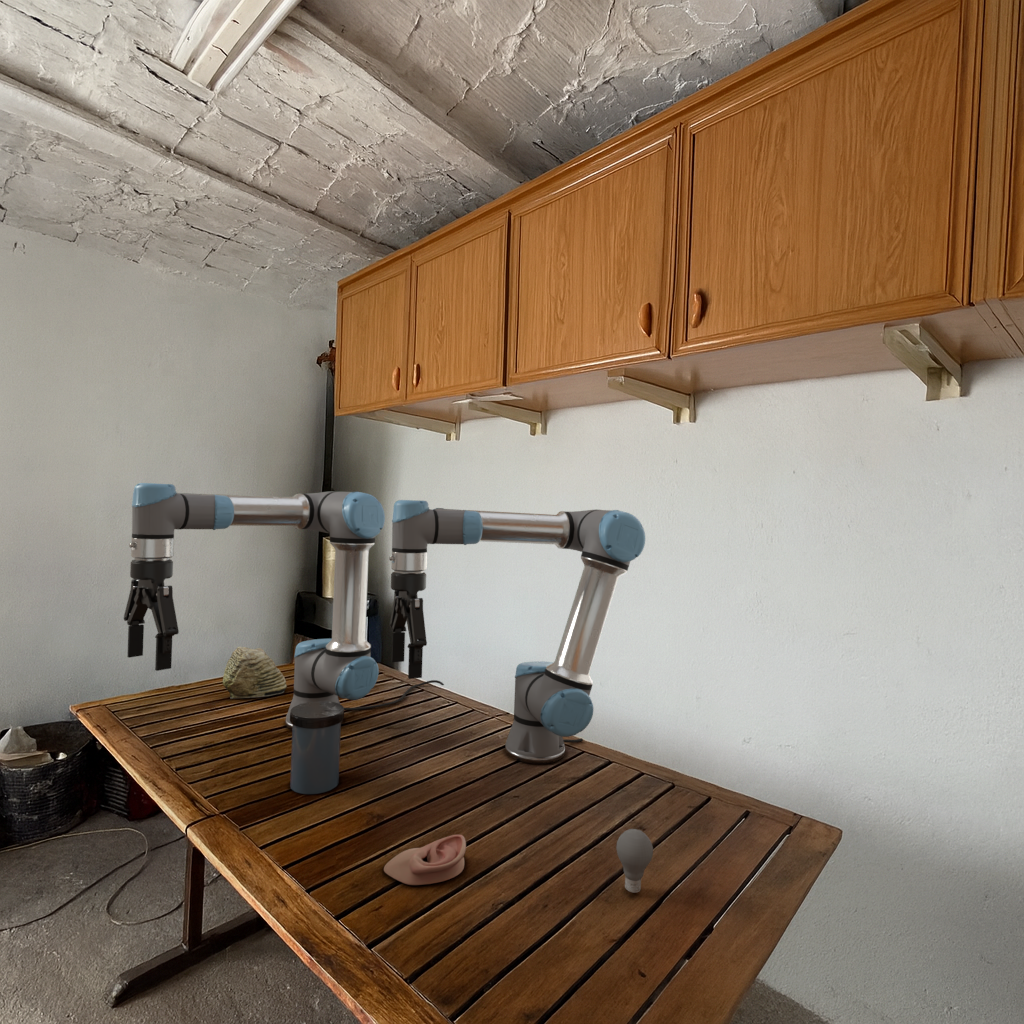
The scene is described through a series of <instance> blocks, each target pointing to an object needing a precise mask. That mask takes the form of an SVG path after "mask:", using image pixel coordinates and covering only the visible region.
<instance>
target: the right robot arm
mask: <svg viewBox="0 0 1024 1024" xmlns="http://www.w3.org/2000/svg"><path fill="white" fill-rule="evenodd" d="M392 511H393V512H392V519H391V522H392V524H391V525H392V527H391V530H392V531H391V556H389V557H388V559H389V561H391V570H392V572H391V573H390V589H391V590H393V593H394V594H393V602H392V607H391V608H392V609H391V616H390V620H389V628H390V629H391V632H392V633H391V637H392V638H391V663H402V662H405V649H406V648H405V647H407V649H408V666H407V667H408V670H407V679H408V680H414V679H422V678H423V656H424V655H423V653H424V651H423V650H424V647H427V644H428V642H427V641H428V640H427V634H426V632H427V631H426V624H425V615H424V598H423V597H419V595H418V592H423V591H425V590H426V588H427V573H426V572H425V571H426V570H428V545H463V546H467V545H477V544H478V543H479V542H483V543H485V542H487V543H508V544H509V543H510V544H511V543H512V544H533V545H534V544H535V545H555V546H556V548H557V549H561V550H572V551H577V552H581V554H580V560H581V562H582V564H583V570H582V572H581V576H580V579H579V582H578V586H577V588H576V591H575V595H574V598H573V601H572V605H571V608H570V610H569V614H568V617H567V621H566V624H565V628H564V631H563V634H562V636H561V640H560V643H559V646H558V649H557V653H556V656H555V659H554V661H538V660H537V661H526V662H525V661H524V662H521V663H519V664H518V665H517V666H516V668H515V675H514V700H513V701H514V704H513V706H514V707H513V722H512V724H511V727H510V730H509V732H508V735H507V738H506V741H505V749H504V751H505V754H506V755H507V756H508V757H510V758H511V759H513V760H516V761H518V762H521V763H527V764H533V765H544V764H545V765H547V764H551V763H556V762H558V761H561V759H563V758H564V757H565V755H566V754H565V753H566V745H565V743H566V744H568V743H569V744H570V743H571V744H578V743H581V742H583V741H584V739H583V738H578V739H577V738H576V739H565V738H569V737H573V736H576V735H577V734H579V733H582V732H584V730H585V729H586V728H587V727H588V726H589V724H590V723H591V721H592V719H593V716H594V703H593V700H592V698H591V696H590V694H591V692H592V688H593V684H594V681H593V679H592V678H591V677H592V676H590V672H591V669H592V665H593V662H594V660H595V656H596V653H597V650H598V646H599V643H600V640H601V636H602V634H603V629H604V626H605V623H606V620H607V617H608V614H609V612H610V611H609V610H610V607H611V604H612V600H613V597H614V594H615V590H616V588H617V584H618V581H619V578H620V577H622V576H623V575H625V574H627V573H628V570H629V567H630V565H631V562H632V561H634V560H635V559H636V558H638V557H639V556H640V555H641V554H642V552H643V551H644V548H645V545H646V531H645V529H644V527H643V525H642V522H641V521H640V520H639V519H638V517H636V516H635V515H633V514H632V513H630V512H627V511H623V510H619V509H612V510H609V509H587V510H586V509H585V510H578V511H577V510H576V511H575V510H574V511H564V510H561V511H559V512H557V513H556V514H547V513H529V512H528V513H527V512H510V511H491V510H489V511H488V510H476V509H475V510H473V509H454V508H444V507H435V508H433V509H430V507H429V502H428V501H427V500H419V499H418V500H413V499H398V500H396V501H395V502H394V504H393V509H392ZM406 625H407V628H406ZM407 631H408V636H409V642H410V643H408V644H407V646H405V645H406V644H405V643H406V632H407Z"/></svg>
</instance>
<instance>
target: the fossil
mask: <svg viewBox="0 0 1024 1024" xmlns="http://www.w3.org/2000/svg"><path fill="white" fill-rule="evenodd" d="M222 676H223V677H222V685H223V687H224V688H225V690H226V691H228V693H229V698H230V699H250V698H264V697H271V696H275V695H281V694H284V693H285V691H286V689H287V687H288V686H287V680H286V678H285V676H284V674H283V673H282V672H281V669H279V668H278V667H277V665H276V663H275V662H274V660H273V659H272V658H271V657H270V656H269V655H268V654H267V653H266V652H265V650H264V649H263V648H260V647H258V648H251V647H247V646H246V647H245V646H238V647H237V648H236V649H235V650H233V651H232V653H231V656H230V657H229V659H228V660H227V663H226V666H225V668H224V671H223V675H222Z"/></svg>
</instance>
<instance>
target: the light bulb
mask: <svg viewBox="0 0 1024 1024" xmlns="http://www.w3.org/2000/svg"><path fill="white" fill-rule="evenodd" d="M615 849H616V854H617V857H618V859H619V861H620V863H621V865H622V867H623V873H624V874H623V875H624V876H625V878H624V888H625V890H627V891H628V892H630V893H634V894H635V893H639V892H640V891H641V889H642V887H641V886H642V879H643V877H644V875H645V871H646V868H647V867H648V866H649V864H650V863H651V861H652V859H653V855H654V847H653V843H652V841H651V838H649V836H648V835H647V834H646V833H645V832H643V831H642V830H641V829H636V828H629V829H627V830H625V831H623V832H622V833H621V834H620V835H619V837H618V839H617V841H616V847H615Z"/></svg>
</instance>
